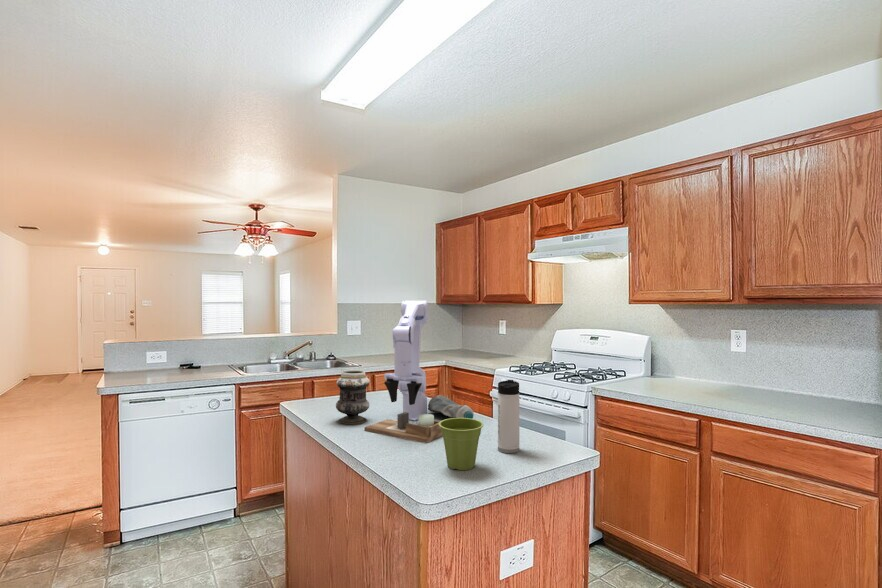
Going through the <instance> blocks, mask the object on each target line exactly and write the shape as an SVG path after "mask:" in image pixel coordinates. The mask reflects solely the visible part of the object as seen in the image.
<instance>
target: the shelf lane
mask: <svg viewBox="0 0 882 588" xmlns="http://www.w3.org/2000/svg"><path fill="white" fill-rule="evenodd" d="M440 421H441V420H435V419H434V425H431V426H429V427H426V426H421V425H418V424H416V423H410V422H409V423H407V424H406V427H405V428H403V429H399V428H398V420H393V419H384V420H381V421H377V422H376V423H372V424H369V425H367V426H364V431H365V432H369V433H374V434H378V435H379V434H380V435H383V436H388V437H395V438H399V439H404V440H409V441H413V442H418V443H424V444H427V443H430V442H431V441H433V440H435V439H438V438H441V437H443V435H442V431H441V427H440V426H439V422H440Z"/></svg>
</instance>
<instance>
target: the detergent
mask: <svg viewBox="0 0 882 588" xmlns="http://www.w3.org/2000/svg"><path fill="white" fill-rule="evenodd" d="M427 411H430V412H431V413H435V414H437V413H438V414H439V413H441V414H443V415H444V416H446V417H447V416H448V417H449V418H470V419H474V415H475V413H474V410H473V409H472V408H471V407H470V406H468V405H467V404H464V405H463V404H458V403H456V402H455V401H453V400H452V399H450V398H449V397H447V396H445V395H441V394H438V395H434V396H433V397H432V398H430V400H429V401H428V402H427Z"/></svg>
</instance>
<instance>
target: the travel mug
mask: <svg viewBox="0 0 882 588" xmlns="http://www.w3.org/2000/svg"><path fill="white" fill-rule="evenodd" d="M497 389H498V390H497V450H498V452H499V453H500V452H501V453H503V454H517V453H519V451H520V383H519V382H518V381H516V380H514V379H507V380H502V381H499V382H498V383H497Z"/></svg>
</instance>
